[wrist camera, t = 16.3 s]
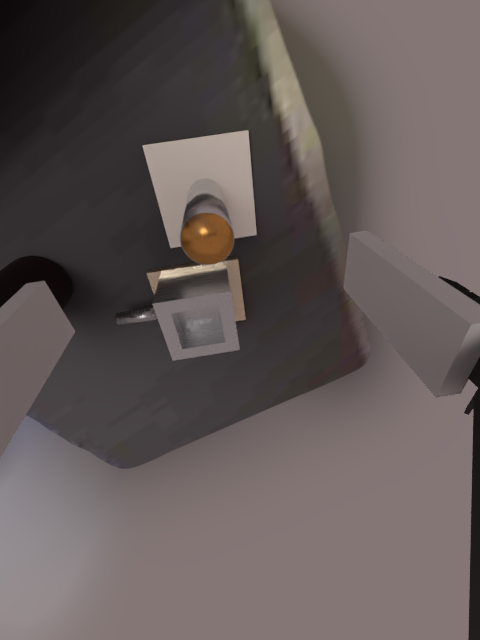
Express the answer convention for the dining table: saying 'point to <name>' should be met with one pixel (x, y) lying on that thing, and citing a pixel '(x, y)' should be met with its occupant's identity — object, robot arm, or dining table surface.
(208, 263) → the metal cylinder
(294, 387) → the dining table surface
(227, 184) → the pad
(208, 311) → the grey box
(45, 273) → the bottle
